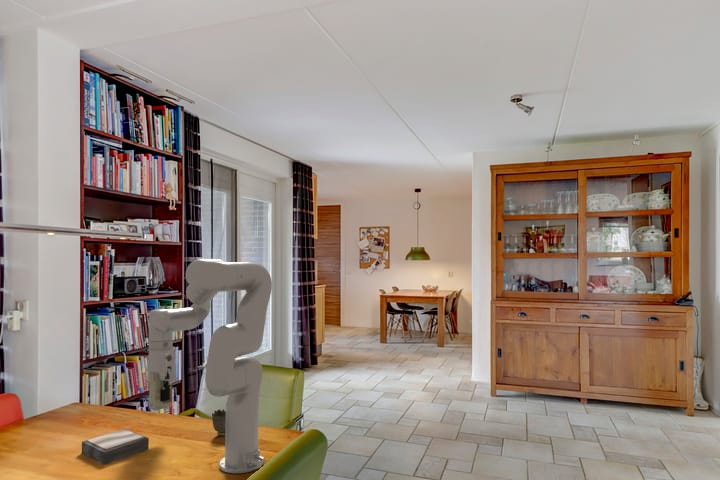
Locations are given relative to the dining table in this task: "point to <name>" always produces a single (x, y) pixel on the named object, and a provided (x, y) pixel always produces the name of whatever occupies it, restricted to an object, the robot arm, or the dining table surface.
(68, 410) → the dining table surface
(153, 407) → the skincare box
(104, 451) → the plinth
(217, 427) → the cup
